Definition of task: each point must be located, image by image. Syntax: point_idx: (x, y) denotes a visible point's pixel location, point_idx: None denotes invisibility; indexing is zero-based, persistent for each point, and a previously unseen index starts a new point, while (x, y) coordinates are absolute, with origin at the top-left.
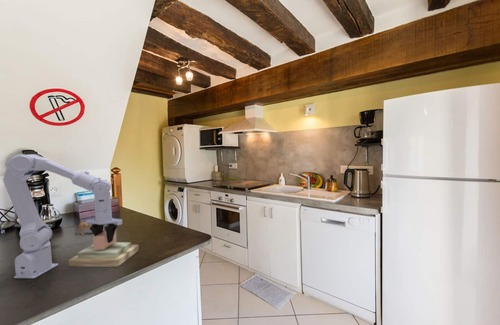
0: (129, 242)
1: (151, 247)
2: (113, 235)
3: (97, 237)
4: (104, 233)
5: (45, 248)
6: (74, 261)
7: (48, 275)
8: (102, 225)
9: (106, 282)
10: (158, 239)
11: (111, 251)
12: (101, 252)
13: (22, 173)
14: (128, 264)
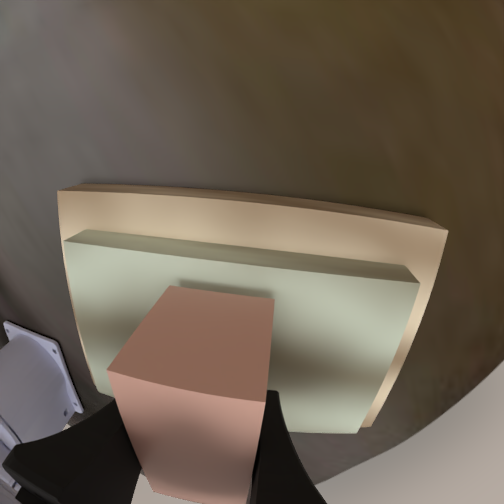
0: (406, 286)
1: (490, 182)
2: (286, 433)
3: (195, 500)
4: (186, 465)
5: (20, 437)
6: None
7: (104, 405)
8: (83, 492)
9: (356, 463)
10: (480, 39)
11: (317, 421)
12: None
13: None
14: (407, 384)
